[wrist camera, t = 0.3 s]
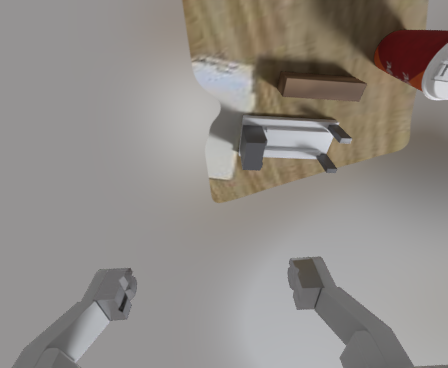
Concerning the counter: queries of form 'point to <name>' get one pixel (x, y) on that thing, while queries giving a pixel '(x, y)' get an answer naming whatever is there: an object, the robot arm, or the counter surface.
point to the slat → (320, 86)
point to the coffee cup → (417, 60)
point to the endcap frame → (288, 139)
